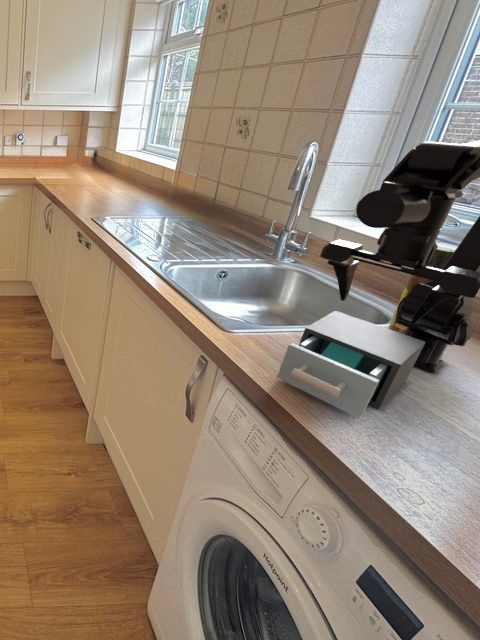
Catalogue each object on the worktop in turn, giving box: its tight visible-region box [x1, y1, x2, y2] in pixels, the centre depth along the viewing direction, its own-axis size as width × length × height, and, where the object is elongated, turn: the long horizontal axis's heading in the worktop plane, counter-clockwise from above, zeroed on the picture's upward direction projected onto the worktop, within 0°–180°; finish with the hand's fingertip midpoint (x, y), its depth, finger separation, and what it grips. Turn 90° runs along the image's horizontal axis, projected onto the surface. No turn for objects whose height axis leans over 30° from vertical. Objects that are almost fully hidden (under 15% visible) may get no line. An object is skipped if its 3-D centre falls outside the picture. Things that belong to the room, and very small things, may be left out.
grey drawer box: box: [298, 310, 425, 410], centre depth 73 cm, size 14×13×9 cm
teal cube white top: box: [321, 342, 364, 371], centre depth 69 cm, size 4×4×4 cm
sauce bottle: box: [388, 246, 456, 334], centre depth 86 cm, size 7×6×20 cm
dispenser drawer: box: [276, 335, 392, 419], centre depth 68 cm, size 17×11×7 cm
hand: (376, 311), depth 71 cm, fingers open, 9 cm apart
